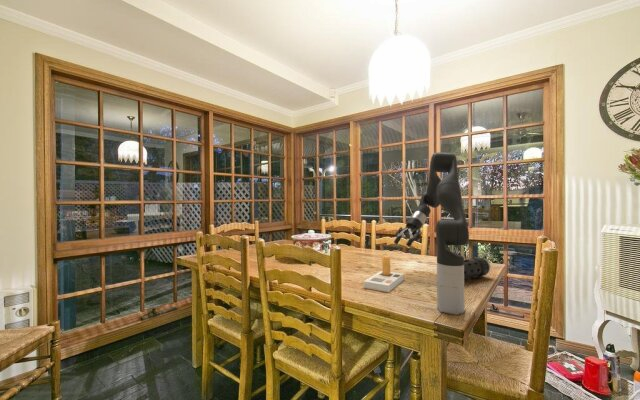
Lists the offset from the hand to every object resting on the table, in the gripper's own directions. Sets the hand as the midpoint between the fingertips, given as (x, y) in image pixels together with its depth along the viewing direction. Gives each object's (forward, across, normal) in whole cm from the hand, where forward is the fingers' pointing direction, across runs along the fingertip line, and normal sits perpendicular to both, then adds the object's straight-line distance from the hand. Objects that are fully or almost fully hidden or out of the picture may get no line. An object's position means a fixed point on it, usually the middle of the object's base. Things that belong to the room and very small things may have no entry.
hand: (401, 244), depth 147 cm
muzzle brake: (-4, +20, +29) cm, 35 cm away
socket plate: (+23, +4, +1) cm, 23 cm away
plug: (+20, 0, +4) cm, 20 cm away
